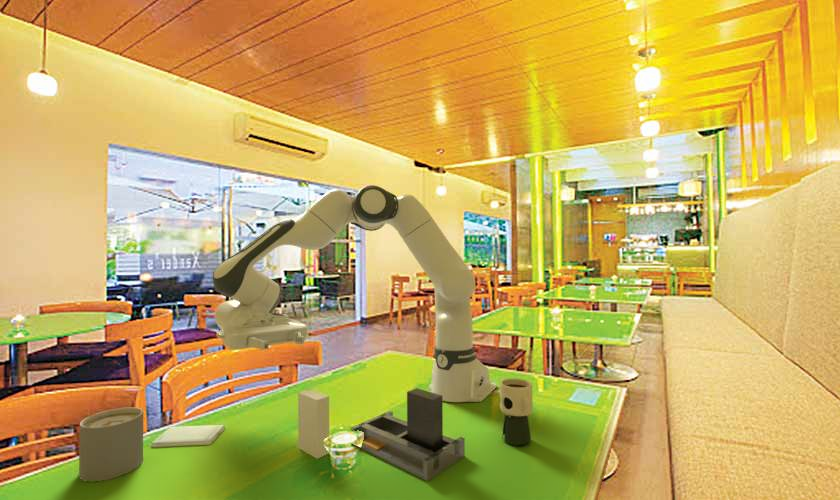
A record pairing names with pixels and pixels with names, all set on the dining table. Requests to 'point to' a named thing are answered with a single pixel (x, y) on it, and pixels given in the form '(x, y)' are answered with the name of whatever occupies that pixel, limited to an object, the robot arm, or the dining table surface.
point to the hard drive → (188, 435)
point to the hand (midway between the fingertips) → (284, 343)
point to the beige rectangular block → (313, 422)
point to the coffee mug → (110, 443)
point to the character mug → (516, 409)
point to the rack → (413, 437)
